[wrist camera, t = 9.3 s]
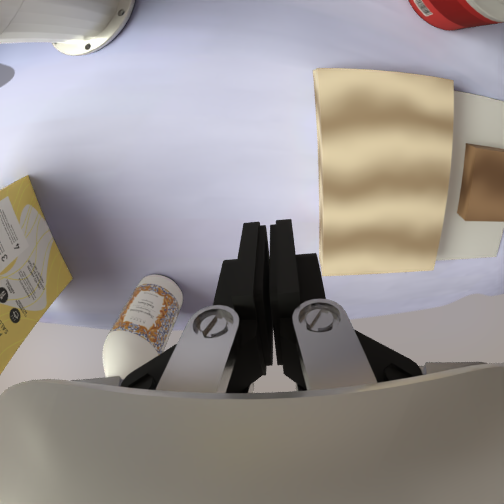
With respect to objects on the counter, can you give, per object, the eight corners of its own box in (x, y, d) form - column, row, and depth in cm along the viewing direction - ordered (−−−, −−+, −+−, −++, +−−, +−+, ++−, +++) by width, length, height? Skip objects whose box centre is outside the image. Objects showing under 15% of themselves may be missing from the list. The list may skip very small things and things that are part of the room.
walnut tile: (516, 154, 25) (505, 149, 27) (476, 147, 26) (465, 143, 28) (504, 221, 29) (495, 213, 31) (465, 221, 30) (456, 213, 32)
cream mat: (440, 88, 25) (441, 88, 25) (517, 105, 24) (519, 106, 23) (424, 259, 36) (425, 261, 36) (494, 255, 35) (495, 256, 34)
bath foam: (186, 280, 42) (135, 405, 24) (181, 316, 45) (139, 432, 28) (140, 266, 41) (71, 379, 24) (138, 303, 45) (83, 410, 28)
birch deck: (312, 70, 27) (317, 68, 23) (436, 79, 25) (453, 80, 22) (319, 257, 38) (322, 276, 34) (422, 253, 36) (433, 270, 33)
